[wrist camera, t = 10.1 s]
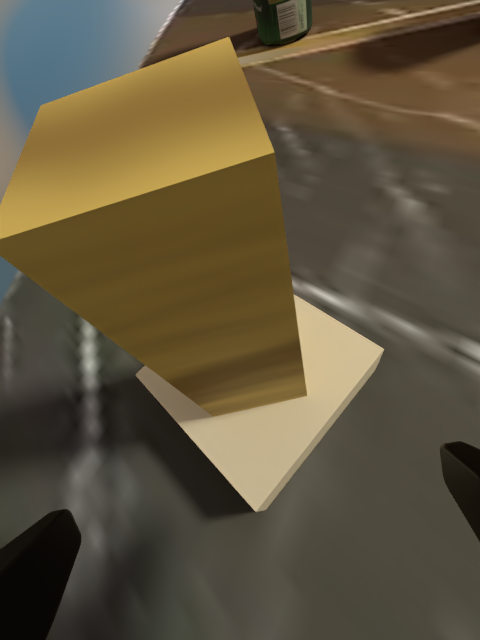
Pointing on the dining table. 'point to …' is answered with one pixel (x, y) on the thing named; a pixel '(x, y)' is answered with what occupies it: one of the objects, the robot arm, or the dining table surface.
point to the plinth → (278, 410)
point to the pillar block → (165, 227)
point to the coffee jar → (282, 20)
